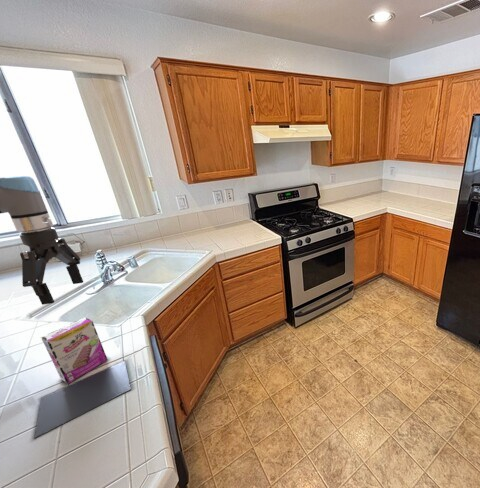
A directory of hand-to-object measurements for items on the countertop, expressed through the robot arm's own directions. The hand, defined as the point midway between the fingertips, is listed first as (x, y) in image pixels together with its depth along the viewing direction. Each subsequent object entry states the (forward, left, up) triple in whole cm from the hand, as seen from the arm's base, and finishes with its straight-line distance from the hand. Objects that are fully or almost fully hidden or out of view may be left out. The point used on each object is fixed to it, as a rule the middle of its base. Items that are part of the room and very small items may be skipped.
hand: (64, 292), depth 85 cm
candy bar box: (-2, -8, -25) cm, 27 cm away
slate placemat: (-2, -21, -25) cm, 33 cm away
